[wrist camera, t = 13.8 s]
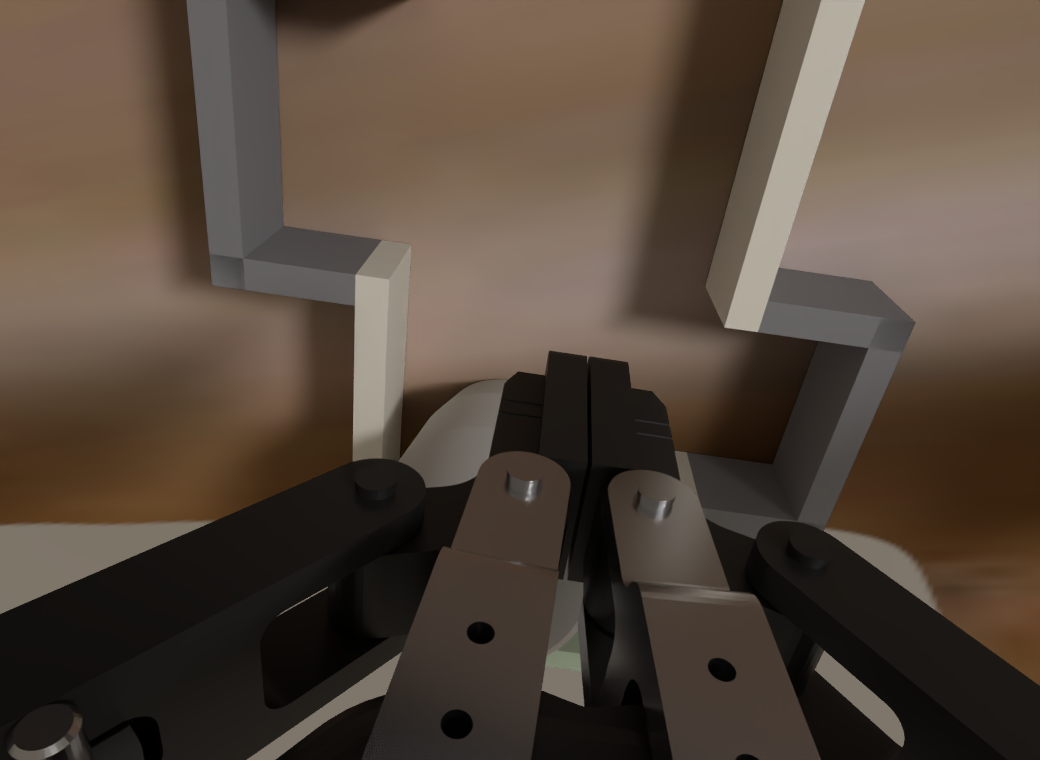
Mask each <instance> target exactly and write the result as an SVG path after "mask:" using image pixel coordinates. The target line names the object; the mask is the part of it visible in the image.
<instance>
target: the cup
mask: <svg viewBox="0 0 1040 760" xmlns="http://www.w3.org/2000/svg"><path fill="white" fill-rule="evenodd" d="M505 382H506V380H485V381H480V382H477V383H474V384H472V385H469V386H468V387H466V388H464V389H463V390H461V391H460V392H459V393H458V394H456V395H455V396H454V397H453V398H452V399H450V400H449V401H448V402H447V403H446V404H444V405H443V406H442V407H441V408H440V409H438V410H437V411H436V412H435V413H434V414H433V415H432V416H431V417H430V418H429V420H428V421H427V422H426V424H425V425H424V426H423V428H422V429H421V431H420V432H419V433H418V435H417V436H416V438H415V439H414V440H413V442H412V443H411V445H410V446H409V447H408V449H407V450H406V452H405V453H404V454H403V456H402V457H401V458H400V460H399V461H398V462H401V463H404V464H406V465H408V466H410V467H412V468H413V469H415V470H416V471H417V472H418V473H419V474H420V475H421V476H422V478H423V480H424V482H425V486H426V488H428V487H442V486H451V485H456V484H460V483H463V482H466V481H468V480H470V479H472V478H474V477H476V476H477V473H478V471H479V468H480V467H481V465H482V464H483V463H484V461H486V460H487V459H488V458H489V454H490V449H491V444H492V439H493V435H494V430H495V425H496V420H497V416H498V411H499V406H500V402H501V397H502V392H503V387H504V383H505ZM567 575H568V560H567V564H566V569H565V574H564V579H563V580H560V579H558V584H557V590H556V597H555V604H554V610H553V617H552V624H551V630H550V637H549V643H548V650H547V655H549V654H551V653H553V652H554V651H556V650H557V649H559V648H560V647H562V646H563V645H564V644H565V643H566V642H568V641H569V640H570V639H571V638H572V637H573V635H574V634H575V633H576V632H577V631H578V616H579V612H580V607H581V603H582V599H583V583H582V582H575V581H569V580H567Z"/></svg>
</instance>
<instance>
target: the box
mask: <svg viewBox="0 0 1040 760" xmlns="http://www.w3.org/2000/svg"><path fill="white" fill-rule="evenodd" d="M186 1H187V12H188V24H189V35H190V46H191V57H192V68H193V79H194V90H195V101H196V112H197V123H198V134H199V146H200V157H201V168H202V179H203V190H204V201H205V212H206V223H207V234H208V245H209V257H210V268H211V279H212V286H219V287H226V288H233V289H240V290H247V291H254V292H261V293H268V294H275V295H282V296H289V297H296V298H303V299H310V300H317V301H324V302H331V303H338V304H346V305H353V306H355V340H354V405H353V462H354V461H358V460H362V459H371V458H381V459H390V460H395V461H399V460H400V442H401V424H402V406H403V387H404V369H405V351H406V333H407V315H408V296H409V278H410V260H411V244H404V243H397V242H390V241H383V240H376V239H369V238H362V237H355V236H348V235H341V234H334V233H327V232H320V231H313V230H306V229H300V228H293V227H286V226H283V202H282V174H281V147H280V119H279V91H278V63H277V36H276V8H275V0H186ZM864 2H865V0H783V4H782V7H781V11H780V15H779V18H778V22H777V26H776V29H775V33H774V37H773V40H772V44H771V48H770V51H769V55H768V59H767V62H766V66H765V70H764V73H763V77H762V81H761V84H760V88H759V92H758V95H757V99H756V102H755V106H754V110H753V113H752V117H751V121H750V124H749V128H748V132H747V135H746V139H745V143H744V146H743V150H742V154H741V157H740V161H739V165H738V168H737V172H736V176H735V179H734V183H733V187H732V190H731V194H730V198H729V201H728V205H727V209H726V212H725V216H724V220H723V223H722V227H721V231H720V234H719V238H718V242H717V245H716V249H715V252H714V256H713V260H712V263H711V267H710V271H709V274H708V278H707V282H706V285H705V287H706V290H707V292H708V294H709V296H710V298H711V300H712V302H713V304H714V307H715V309H716V311H717V313H718V315H719V317H720V319H721V321H722V323H723V326H724V327H725V328H732V329H739V330H746V331H753V332H760V333H767V334H774V335H781V336H788V337H795V338H802V339H809V340H816V341H818V343H817V346H816V349H815V351H814V354H813V357H812V359H811V362H810V365H809V368H808V370H807V373H806V376H805V378H804V381H803V384H802V386H801V389H800V392H799V394H798V397H797V400H796V403H795V405H794V408H793V411H792V413H791V416H790V419H789V421H788V424H787V427H786V429H785V432H784V435H783V437H782V440H781V443H780V446H779V448H778V451H777V454H776V456H775V459H774V462H773V464H766V463H758V462H751V461H744V460H737V459H730V458H723V457H716V456H709V455H702V454H695V453H688V452H681V451H675V455H676V460H677V465H678V470H679V475H680V480H681V482H682V483H684V484H685V485H686V486H688V487H689V488H690V489H691V490H692V491H693V492H694V493H695V495H696V496H697V497H698V499H699V501H700V504H701V507H702V510H703V513H704V516H705V518H707V519H708V520H710V521H711V522H713V523H715V524H717V525H719V526H722V527H724V528H726V529H729V530H732V531H734V532H737V533H740V534H742V535H745V536H748V537H750V538H753V539H756V536H757V534H758V532H759V530H760V529H761V528H762V527H763V526H764V525H766V524H768V523H771V522H775V521H794V522H799V523H804V524H807V525H810V526H813V527H815V528H818V529H820V530H822V531H824V529H825V527H826V525H827V522H828V520H829V518H830V515H831V513H832V511H833V509H834V506H835V504H836V502H837V500H838V497H839V495H840V493H841V490H842V488H843V486H844V484H845V481H846V479H847V477H848V475H849V472H850V470H851V468H852V465H853V463H854V461H855V459H856V456H857V454H858V452H859V450H860V447H861V445H862V443H863V440H864V438H865V436H866V434H867V431H868V429H869V427H870V425H871V422H872V420H873V418H874V415H875V413H876V411H877V409H878V406H879V404H880V402H881V400H882V397H883V395H884V393H885V390H886V388H887V386H888V384H889V381H890V379H891V377H892V375H893V372H894V370H895V368H896V365H897V363H898V361H899V359H900V356H901V354H902V352H903V350H904V347H905V345H906V343H907V340H908V338H909V336H910V334H911V331H912V329H913V327H914V325H915V321H914V320H913V319H911V318H910V317H909V316H908V315H907V314H906V313H905V312H904V311H903V310H902V309H901V308H900V307H899V306H898V305H896V304H895V303H894V302H893V301H892V300H891V299H890V298H889V297H888V296H887V295H886V294H885V293H884V292H883V291H882V290H880V289H879V288H878V287H877V286H876V285H875V284H874V283H873V282H872V281H865V280H858V279H851V278H844V277H838V276H831V275H824V274H817V273H810V272H803V271H796V270H789V269H782V268H779V265H780V262H781V259H782V256H783V253H784V249H785V246H786V243H787V240H788V237H789V234H790V231H791V228H792V225H793V222H794V219H795V215H796V212H797V209H798V206H799V203H800V200H801V197H802V194H803V191H804V188H805V184H806V181H807V178H808V175H809V172H810V169H811V166H812V163H813V160H814V157H815V154H816V150H817V147H818V144H819V141H820V138H821V135H822V132H823V129H824V126H825V123H826V119H827V116H828V113H829V110H830V107H831V104H832V101H833V98H834V95H835V92H836V88H837V85H838V82H839V79H840V76H841V73H842V70H843V67H844V64H845V61H846V58H847V54H848V51H849V48H850V45H851V42H852V39H853V36H854V33H855V30H856V27H857V23H858V20H859V17H860V14H861V11H862V8H863V5H864ZM545 666H547V667H554V668H561V669H568V670H575V671H581V659H580V647H579V635H578V631H577V632H576V633H575V634H574V635H573V637H572V638H571V639H570V640H569V641H568V642H566V643H565V644H564V645H563V646H562V647H560V648H559V649H557V650H556V651H554V652H553V653H551V654H549V655H547V657H546V663H545Z"/></svg>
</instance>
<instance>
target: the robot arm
mask: <svg viewBox="0 0 1040 760" xmlns="http://www.w3.org/2000/svg"><path fill="white" fill-rule="evenodd" d="M671 438H672V435H671V430H670V427H669V420H668V415H667V410H666V407H665V406H664V404H663V403H662V402H661V401H660V400H659V399H658V398H657V396H656V395H655V394H654V393H653V392H652V391H646V390H640V389H633V388H631V382H630V374H629V366H628V362H623V361H617V360H610V359H603V358H596V357H589V359H588V363H587V356H582V355H575V354H569V353H562V352H555V351H549V354H548V359H547V365H546V372H545V375H538V374H531V373H524V372H517V373H516V374H515V375H513V376H512V377H511V378H510V379H509V380H508V381H506V382H505V383H504V387H503V392H502V397H501V402H500V406H499V411H498V416H497V420H496V425H495V430H494V435H493V439H492V444H491V449H490V454H489V458H488V459H487V460H486V461H484V463H483V464H482V465H481V467H480V468H479V471H478V473H477V476H476V477H474V478H472V479H470V480H468V481H466V482H463V483H460V484H456V485H451V486H442V487H428V488H426V486H425V482H424V480H423V478H422V476H421V475H420V474H419V473H418V472H417V471H416V470H415V469H413V468H412V467H410V466H408V465H406V464H404V463H401V462H398V461H395V460H390V459H381V458H371V459H362V460H358V461H354V462H351V463H348V464H346V465H343V466H341V467H339V468H336V469H334V470H332V471H329V472H327V473H325V474H323V475H320V476H318V477H316V478H313V479H311V480H309V481H306V482H304V483H302V484H299V485H297V486H295V487H293V488H290V489H288V490H286V491H283V492H281V493H279V494H276V495H274V496H272V497H269V498H267V499H265V500H263V501H260V502H258V503H256V504H253V505H251V506H249V507H246V508H244V509H242V510H239V511H237V512H235V513H233V514H230V515H228V516H226V517H223V518H221V519H219V520H216V521H214V522H212V523H209V524H207V525H205V526H203V527H200V528H198V529H196V530H193V531H191V532H189V533H187V534H184V535H182V536H180V537H177V538H175V539H173V540H170V541H168V542H166V543H163V544H161V545H159V546H157V547H154V548H152V549H150V550H147V551H145V552H143V553H140V554H138V555H136V556H133V557H131V558H129V559H126V560H124V561H122V562H119V563H117V564H115V565H113V566H110V567H108V568H106V569H103V570H101V571H99V572H96V573H94V574H92V575H89V576H87V577H85V578H83V579H80V580H78V581H76V582H73V583H71V584H69V585H67V586H64V587H62V588H60V589H57V590H55V591H53V592H50V593H48V594H46V595H43V596H41V597H39V598H36V599H34V600H32V601H29V602H27V603H25V604H23V605H20V606H18V607H16V608H13V609H11V610H9V611H6V612H4V613H2V614H0V760H247V759H248V758H249V757H251V756H252V755H254V754H255V753H257V752H258V751H260V750H261V749H262V748H264V747H265V746H267V745H268V744H270V743H271V742H272V741H274V740H275V739H277V738H278V737H280V736H281V735H283V734H284V733H285V732H287V731H288V730H290V729H291V728H293V727H294V726H295V725H297V724H298V723H300V722H301V721H303V720H304V719H305V718H307V717H308V716H310V715H311V714H313V713H314V712H316V711H317V710H319V709H320V708H322V707H323V706H324V705H326V704H327V703H329V702H330V701H331V700H333V699H334V698H336V697H337V696H339V695H340V694H342V693H343V692H345V691H346V690H347V689H349V688H350V687H352V686H353V685H354V684H356V683H357V682H359V681H360V680H362V679H363V678H365V677H366V676H368V675H369V674H370V673H372V672H373V671H375V670H376V669H378V668H379V667H380V666H382V665H383V664H385V663H386V662H388V661H389V660H391V659H392V658H393V657H395V656H396V655H398V654H399V653H400V652H402V653H401V656H400V658H399V661H398V664H397V666H396V669H395V671H394V674H393V677H392V679H391V682H390V685H389V687H388V690H387V693H386V695H383V696H380V697H377V698H374V699H371V700H368V701H365V702H363V703H360V704H358V705H356V706H354V707H351V708H349V709H347V710H345V711H343V712H342V713H340V714H338V715H337V716H335V717H333V718H331V719H330V720H328V721H327V722H325V723H324V724H322V725H321V726H320V727H318V728H317V729H315V730H314V731H313V732H311V733H310V734H309V735H307V736H306V737H305V738H304V739H302V740H301V741H300V742H298V743H297V744H296V745H294V746H293V747H292V748H290V749H289V750H288V751H287V752H285V753H284V754H283V755H281V756H280V757H279V758H277V759H276V760H1040V686H1039V685H1038V684H1036V683H1035V682H1033V681H1032V680H1031V679H1029V678H1028V677H1027V676H1025V675H1024V674H1022V673H1021V672H1020V671H1018V670H1017V669H1015V668H1014V667H1013V666H1011V665H1010V664H1009V663H1007V662H1006V661H1004V660H1003V659H1002V658H1000V657H999V656H998V655H996V654H995V653H993V652H992V651H991V650H989V649H988V648H986V647H985V646H984V645H982V644H981V643H980V642H978V641H977V640H975V639H974V638H973V637H971V636H970V635H968V634H967V633H966V632H964V631H963V630H962V629H960V628H959V627H957V626H956V625H955V624H953V623H952V622H951V621H949V620H948V619H946V618H945V617H944V616H942V615H941V614H939V613H938V612H937V611H935V610H934V609H933V608H931V607H930V606H928V605H927V604H926V603H924V602H923V601H921V600H920V599H919V598H917V597H916V596H914V595H913V594H912V593H910V592H909V591H908V590H906V589H905V588H903V587H902V586H901V585H899V584H898V583H897V582H895V581H894V580H892V579H891V578H890V577H888V576H887V575H886V574H884V573H883V572H881V571H880V570H879V569H877V568H876V567H874V566H873V565H872V564H870V563H869V562H868V561H866V560H865V559H863V558H862V557H861V556H859V555H858V554H856V553H855V552H854V551H852V550H851V549H849V548H848V547H847V546H845V545H844V544H843V543H841V542H840V541H839V540H837V539H836V538H834V537H833V536H831V535H830V534H828V533H826V532H824V531H822V530H820V529H818V528H815V527H813V526H810V525H807V524H804V523H799V522H794V521H775V522H771V523H768V524H766V525H764V526H763V527H762V528H761V529H760V530H759V532H758V534H757V536H756V539H753V538H750V537H748V536H745V535H742V534H740V533H737V532H734V531H732V530H729V529H726V528H724V527H722V526H719V525H717V524H715V523H713V522H711V521H710V520H708V519H707V518H705V516H704V513H703V510H702V507H701V504H700V501H699V499H698V497H697V496H696V495H695V493H694V492H693V491H692V490H691V489H690V488H689V487H688V486H686V485H685V484H684V483H682V482H681V480H680V475H679V470H678V465H677V460H676V455H675V450H674V445H673V440H671ZM567 560H568V575H567V580H569V581H575V582H582V583H583V599H582V603H581V607H580V612H579V616H578V635H579V647H580V659H581V672H582V684H583V695H584V707H583V706H580V705H577V704H575V703H572V702H569V701H567V700H564V699H562V698H559V697H557V696H554V695H552V694H549V693H546V692H544V691H541V690H542V683H543V676H544V670H545V663H546V657H547V650H548V643H549V637H550V630H551V624H552V617H553V610H554V604H555V597H556V590H557V584H558V579H560V580H563V579H564V574H565V569H566V564H567ZM327 586H328V588H327V589H325V590H324V591H322V592H320V593H318V594H316V595H314V596H313V597H311V598H309V599H307V600H306V601H304V602H302V603H300V604H298V605H297V606H295V607H293V608H291V609H290V610H288V611H286V612H284V613H283V614H281V615H279V614H280V613H282V612H283V611H285V610H286V609H288V608H290V607H292V606H293V605H295V604H297V603H299V602H301V601H302V600H304V599H306V598H308V597H310V596H311V595H313V594H315V593H317V592H318V591H320V590H322V589H324V588H326V587H327ZM278 615H279V616H278ZM824 650H825V651H826V652H827V653H828V654H829V655H830V656H832V657H833V658H834V659H835V660H836V661H837V662H838V663H840V664H841V665H842V666H843V667H844V668H845V669H847V670H848V671H849V672H850V673H851V674H852V675H854V676H855V677H856V678H857V679H858V680H859V681H860V682H862V683H863V684H864V685H865V686H866V687H867V688H869V689H870V690H871V691H872V692H873V693H875V694H876V695H877V696H878V697H879V698H880V699H881V700H882V701H884V702H885V703H886V704H887V705H888V706H889V707H890V708H891V709H892V710H893V711H894V713H895V714H896V716H897V717H898V718H899V720H900V722H901V725H902V727H903V730H904V736H905V741H904V746H903V747H901V746H899V745H898V744H897V743H895V742H894V741H893V740H892V739H891V738H890V737H888V736H887V735H886V734H885V733H884V732H883V731H882V730H881V729H880V728H879V727H877V726H876V725H875V724H874V723H873V722H872V721H871V720H870V719H869V718H867V717H866V716H865V715H864V714H863V713H862V712H861V711H860V710H859V709H857V708H856V707H855V706H854V705H853V704H852V703H851V702H850V701H848V700H847V699H846V698H845V697H844V696H843V695H842V694H841V693H840V692H838V691H837V690H836V689H835V688H834V687H833V686H832V685H831V684H829V683H828V682H827V681H826V680H825V679H824V678H823V677H822V676H821V675H820V674H818V673H817V672H816V671H815V668H816V666H817V664H818V662H819V660H820V658H821V655H822V654H823V651H824Z"/></svg>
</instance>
